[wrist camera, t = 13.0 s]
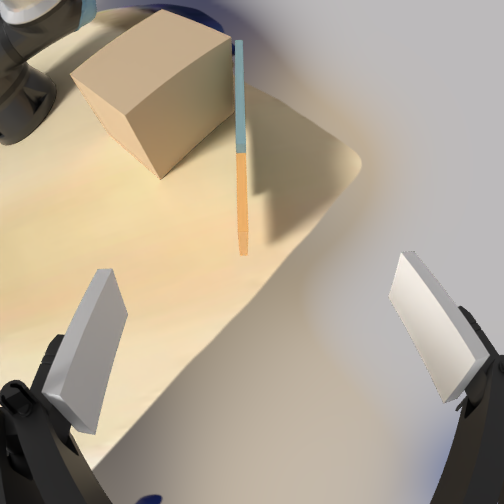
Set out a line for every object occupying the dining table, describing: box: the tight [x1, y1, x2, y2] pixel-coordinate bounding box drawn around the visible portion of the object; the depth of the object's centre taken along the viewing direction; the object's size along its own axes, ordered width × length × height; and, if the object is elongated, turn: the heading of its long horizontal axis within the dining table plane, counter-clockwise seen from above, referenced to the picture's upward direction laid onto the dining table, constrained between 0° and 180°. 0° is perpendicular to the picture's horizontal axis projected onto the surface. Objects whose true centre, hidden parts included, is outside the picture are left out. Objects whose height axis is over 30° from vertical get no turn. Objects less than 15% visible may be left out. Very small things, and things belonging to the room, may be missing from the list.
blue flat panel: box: [235, 40, 248, 256], centre depth 31 cm, size 1×21×12 cm, turn 2°
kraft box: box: [70, 9, 234, 180], centre depth 33 cm, size 12×14×14 cm
